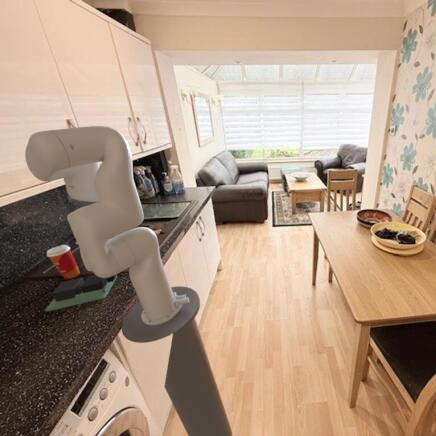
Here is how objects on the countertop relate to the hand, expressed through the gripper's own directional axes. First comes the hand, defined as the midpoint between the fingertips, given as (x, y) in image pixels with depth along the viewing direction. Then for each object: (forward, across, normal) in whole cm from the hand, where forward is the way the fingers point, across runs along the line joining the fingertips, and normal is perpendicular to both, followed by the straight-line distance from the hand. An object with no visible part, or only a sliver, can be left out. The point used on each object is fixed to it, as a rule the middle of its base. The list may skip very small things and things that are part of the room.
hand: (112, 279), depth 97 cm
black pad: (+2, -6, 0) cm, 6 cm away
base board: (+3, -11, 0) cm, 11 cm away
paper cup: (+3, -22, +16) cm, 27 cm away
